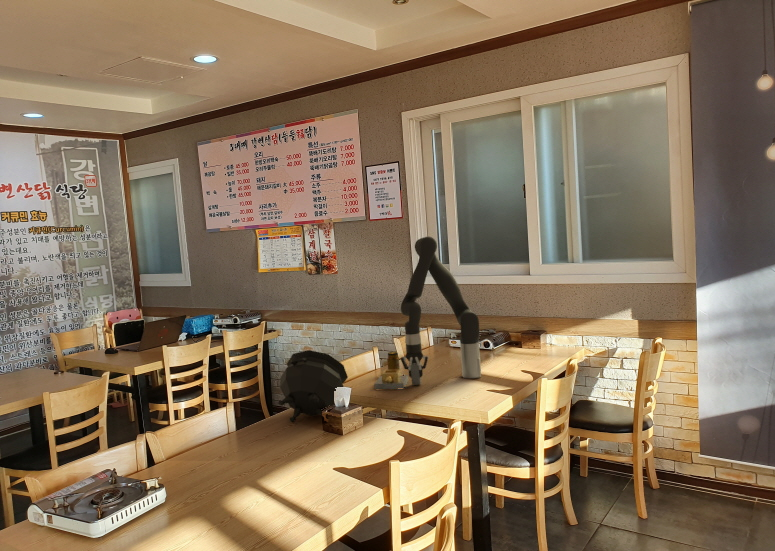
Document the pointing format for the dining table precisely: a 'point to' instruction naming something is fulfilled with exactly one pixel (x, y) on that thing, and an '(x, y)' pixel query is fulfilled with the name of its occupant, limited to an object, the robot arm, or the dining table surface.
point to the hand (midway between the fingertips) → (416, 377)
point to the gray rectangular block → (415, 374)
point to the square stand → (391, 380)
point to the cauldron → (311, 382)
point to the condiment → (393, 361)
